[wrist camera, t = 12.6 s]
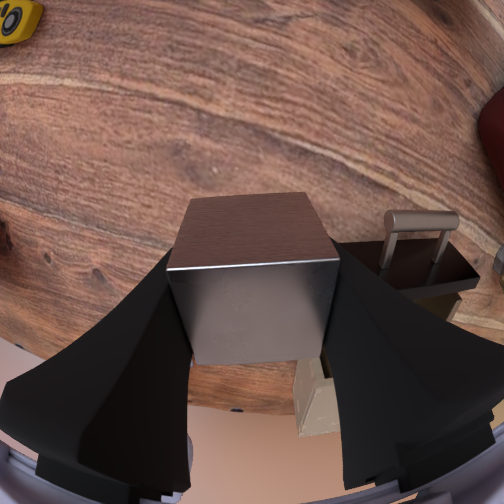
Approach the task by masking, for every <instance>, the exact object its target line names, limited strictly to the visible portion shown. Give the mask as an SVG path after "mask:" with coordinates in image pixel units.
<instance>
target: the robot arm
mask: <svg viewBox="0 0 504 504" xmlns="http://www.w3.org/2000/svg"><path fill="white" fill-rule="evenodd" d="M330 239H331V241H332V243H333V245H334V247H335V249H336V251H337V253H338V255H339V257H340V264H339V270H338V275H337V281H336V286H335V291H334V296H333V301H332V306H331V311H330V315H329V320H328V324H327V329H326V333H325V337H324V341H323V344H324V347H325V350H326V354H327V357H328V360H329V363H330V367H331V371H332V376H333V381H334V387H335V393H336V399H337V406H338V414H339V421H340V431H341V441H342V454H343V455H342V457H343V481H344V487H345V490H348V489H352V488H357V487H360V486H364V485H367V484H371V483H374V482H375V485H376V487H373V488H370V489H367V490H364V491H360V492H356V493H353V494H348V495H344V496H340V497H335V498H330V499H325V500H320V501H315V502H309V503H302V504H390V503H392V502H395V501H398V500H400V499H403V498H405V497H408V496H410V495H412V494H415V493H417V492H418V494H417V496H416V498H415V499H412V500H409V501H405V502H402V503H398V504H504V422H503V423H501V424H500V425H499V426H497V427H496V428H494V429H493V430H492V429H491V426H490V424H489V423H490V422H491V421H493V420H494V415H493V412H492V410H491V409H493V408H494V407H495V406H496V405H497V404H498V403H500V402H501V401H502V400H503V399H504V345H501V344H498V343H496V342H493V341H490V340H487V339H484V338H482V337H479V336H477V335H475V334H473V333H471V332H468V331H466V330H464V329H462V328H460V327H458V326H456V325H454V324H452V323H450V322H448V321H446V320H444V319H442V318H440V317H439V316H437V315H435V314H433V313H431V312H430V311H428V310H426V309H425V308H423V307H421V306H420V305H418V304H417V303H415V302H414V301H412V300H411V299H409V298H407V297H406V296H404V295H403V294H401V293H400V292H399V291H397V290H396V289H394V288H393V287H392V286H390V285H389V284H388V283H386V282H385V281H384V280H382V279H381V278H380V277H378V276H377V275H376V274H375V273H373V272H372V271H371V270H369V269H368V268H367V267H366V266H365V265H363V264H362V263H361V262H360V261H359V260H357V259H356V258H355V257H354V256H353V255H351V254H350V253H349V252H348V251H347V250H345V249H344V248H343V247H342V246H341V245H339V244H338V243H337V242H336V241H334V240H333V239H332V238H330ZM172 249H173V247H172V248H171V249H170V250H169V251H168V252H167V253H166V254H165V256H164V257H163V258H162V259H161V260H160V261H159V262H158V263H157V264H156V266H155V267H154V268H153V269H152V270H151V271H150V272H149V273H148V274H147V275H146V276H145V278H144V279H143V280H142V281H141V282H140V283H139V284H138V285H137V286H136V287H135V288H134V289H133V290H132V291H131V292H130V293H129V294H128V295H127V296H126V297H125V298H124V299H123V300H122V301H121V302H120V303H119V304H118V305H117V306H116V307H115V308H114V309H113V310H112V311H111V312H110V313H109V314H108V315H106V316H105V317H104V318H103V319H102V320H99V322H98V323H97V324H96V325H95V326H94V327H92V328H91V329H90V330H89V331H87V332H86V333H85V334H83V335H82V336H81V337H79V338H78V339H77V340H75V341H74V342H73V343H72V344H70V345H69V346H68V347H66V348H65V349H63V350H62V351H60V352H59V353H57V354H56V355H54V356H53V357H51V358H50V359H48V360H46V361H45V362H43V363H42V364H40V365H38V366H37V367H35V368H33V369H31V370H29V371H27V372H26V373H24V374H22V375H20V376H18V377H16V378H14V379H12V380H10V381H8V382H7V383H6V385H5V388H4V390H3V393H2V396H1V398H0V429H1V430H2V431H3V432H4V433H6V434H7V435H9V436H10V437H12V438H13V439H15V440H16V441H18V442H20V443H21V444H23V445H24V446H26V447H28V448H29V449H31V450H33V451H34V452H36V453H38V454H39V455H38V460H37V461H35V460H33V459H31V458H29V457H27V456H26V455H24V454H22V453H20V452H18V451H17V450H15V449H13V448H11V447H10V446H9V445H7V444H6V443H4V442H3V441H1V440H0V504H175V503H177V502H179V501H180V500H181V496H182V495H183V492H185V491H186V490H188V489H189V488H190V487H191V483H190V471H191V467H192V461H193V445H192V441H191V439H190V437H189V435H188V433H187V399H188V380H189V371H190V367H193V361H192V353H193V352H192V349H191V347H190V344H189V341H188V338H187V335H186V332H185V330H184V327H183V324H182V321H181V318H180V315H179V312H178V309H177V305H176V302H175V299H174V296H173V293H172V289H171V286H170V283H169V279H168V276H167V273H166V267H167V264H168V261H169V258H170V255H171V252H172Z"/></svg>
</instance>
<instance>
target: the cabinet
mask: <svg viewBox="0 0 504 504" xmlns="http://www.w3.org/2000/svg"><path fill="white" fill-rule="evenodd" d="M292 394H293V401H294V408H295V415H296V423H297V430H298V437H299V438H300V437H307V436H314V435H320V434H326V433H332V432H337V431H340V421H339V414H338V406H337V399H336V393H335V387H334V381H333V378H328V379H325V378H324V374H323V370H322V365H321V361H320V357H318V358H310V359H301V360H297V366H296V372H295V378H294V383H293V389H292Z"/></svg>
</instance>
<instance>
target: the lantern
mask: <svg viewBox="0 0 504 504" xmlns="http://www.w3.org/2000/svg"><path fill="white" fill-rule="evenodd" d="M493 269H494V270H495V271H496V272H497V273H498V274H499V275H500V276H501V277H500V280H499V282H500V285H501V288H502V291H503V294H504V245H503V246H502V247H501V249H500V250H499V252H498V253H497V255H496V259H495V263H494V267H493Z"/></svg>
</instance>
